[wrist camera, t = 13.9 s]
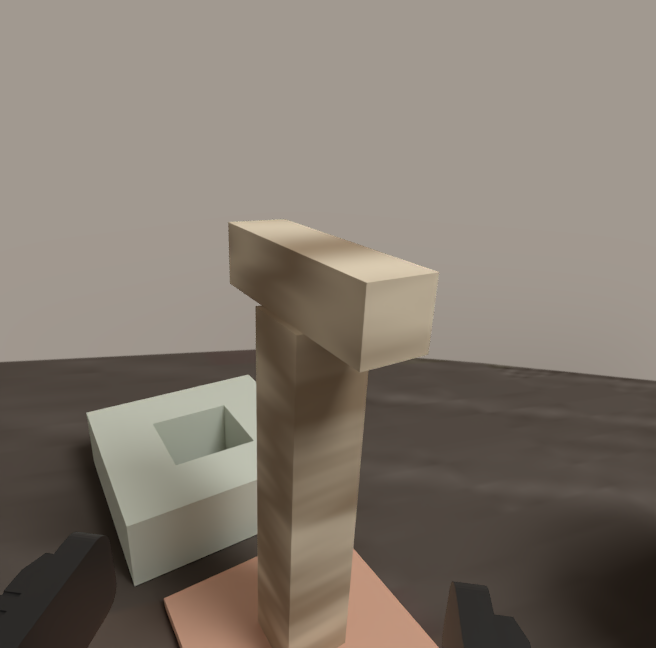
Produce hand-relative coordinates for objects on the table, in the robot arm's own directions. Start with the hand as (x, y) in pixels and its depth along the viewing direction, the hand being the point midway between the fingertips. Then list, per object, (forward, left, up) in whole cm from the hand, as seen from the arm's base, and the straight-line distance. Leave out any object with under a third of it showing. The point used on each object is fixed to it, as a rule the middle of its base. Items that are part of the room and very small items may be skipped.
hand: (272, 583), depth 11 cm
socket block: (-19, +5, -13) cm, 24 cm away
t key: (-6, +5, -12) cm, 15 cm away
